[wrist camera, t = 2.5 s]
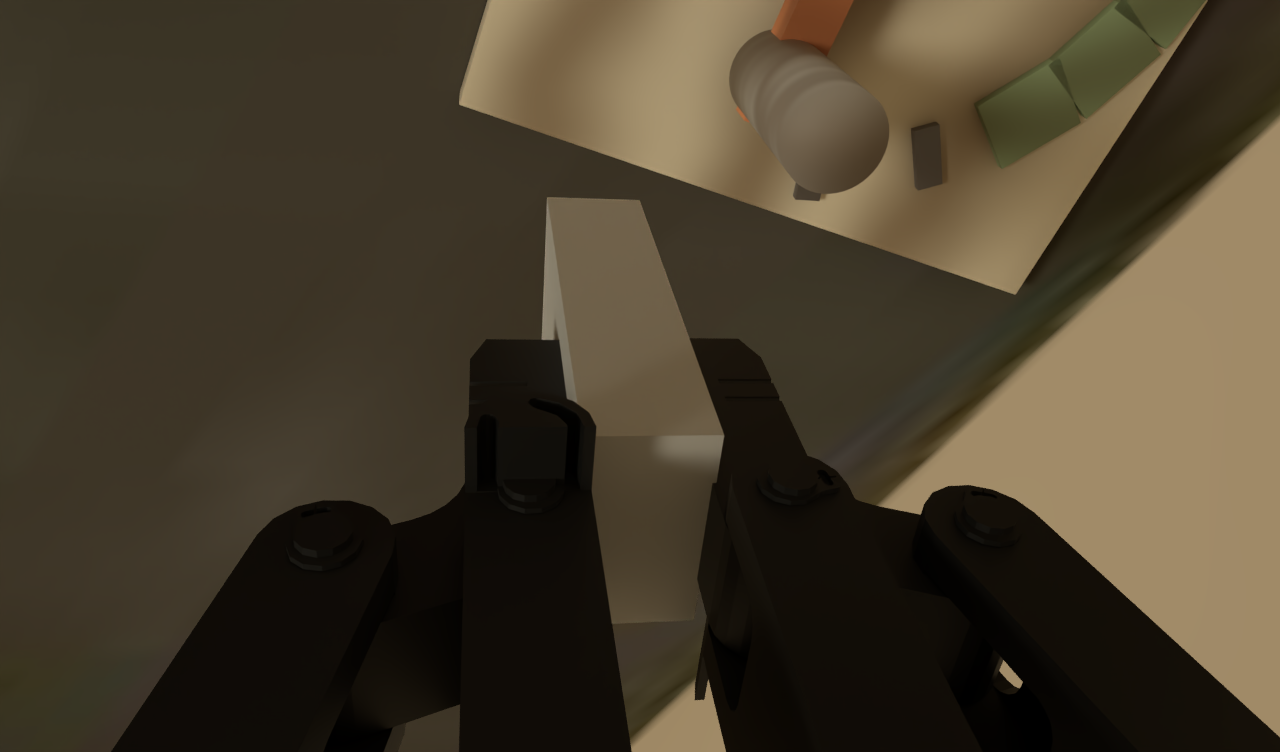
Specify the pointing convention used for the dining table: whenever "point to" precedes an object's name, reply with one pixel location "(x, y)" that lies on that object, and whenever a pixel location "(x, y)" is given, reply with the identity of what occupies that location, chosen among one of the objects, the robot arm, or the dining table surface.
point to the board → (883, 65)
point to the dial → (809, 99)
